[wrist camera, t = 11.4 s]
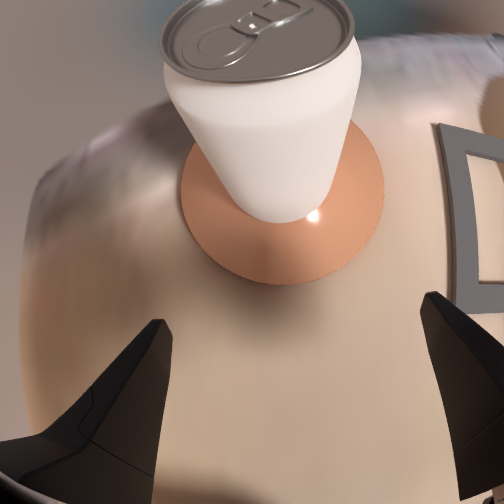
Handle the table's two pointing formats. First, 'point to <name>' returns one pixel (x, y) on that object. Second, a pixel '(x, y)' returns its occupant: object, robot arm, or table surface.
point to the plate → (292, 233)
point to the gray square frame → (468, 217)
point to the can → (265, 95)
